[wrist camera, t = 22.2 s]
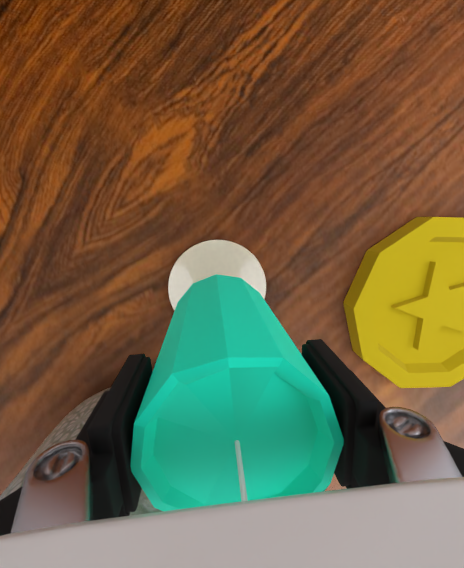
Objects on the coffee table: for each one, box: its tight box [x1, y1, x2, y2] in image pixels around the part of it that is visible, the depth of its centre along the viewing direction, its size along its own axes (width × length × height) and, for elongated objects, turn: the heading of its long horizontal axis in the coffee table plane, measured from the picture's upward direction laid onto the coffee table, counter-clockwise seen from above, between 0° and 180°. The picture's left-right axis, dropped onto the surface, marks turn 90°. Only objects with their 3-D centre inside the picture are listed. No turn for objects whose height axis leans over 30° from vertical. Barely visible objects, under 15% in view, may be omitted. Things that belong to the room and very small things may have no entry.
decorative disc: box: [343, 217, 464, 388], centre depth 27 cm, size 17×18×2 cm
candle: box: [130, 274, 344, 511], centre depth 12 cm, size 6×6×12 cm
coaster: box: [168, 240, 266, 311], centre depth 25 cm, size 9×9×1 cm
